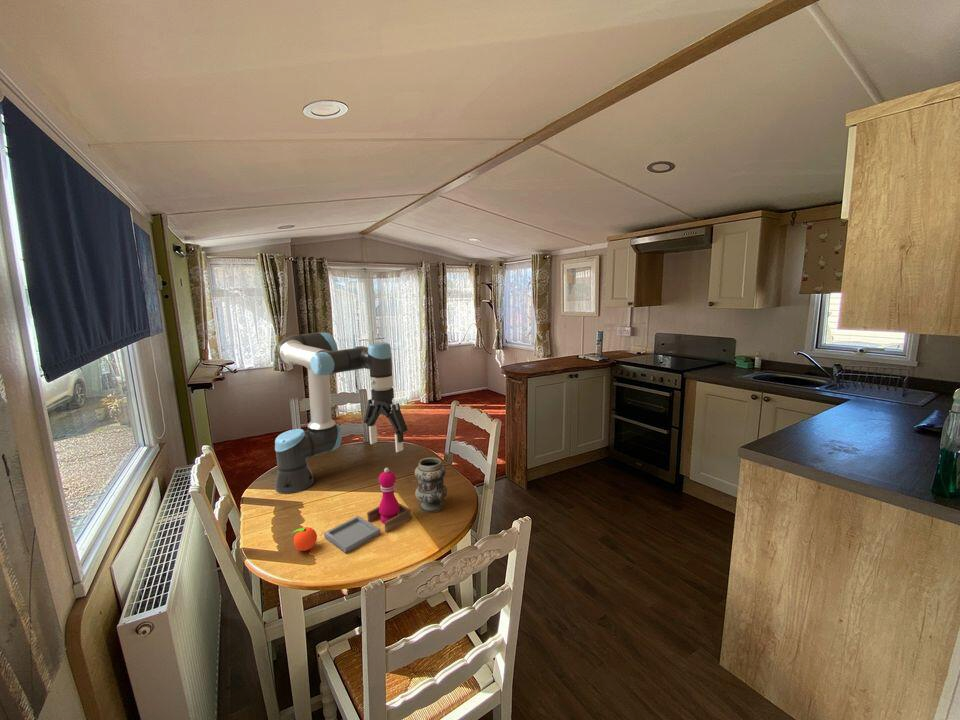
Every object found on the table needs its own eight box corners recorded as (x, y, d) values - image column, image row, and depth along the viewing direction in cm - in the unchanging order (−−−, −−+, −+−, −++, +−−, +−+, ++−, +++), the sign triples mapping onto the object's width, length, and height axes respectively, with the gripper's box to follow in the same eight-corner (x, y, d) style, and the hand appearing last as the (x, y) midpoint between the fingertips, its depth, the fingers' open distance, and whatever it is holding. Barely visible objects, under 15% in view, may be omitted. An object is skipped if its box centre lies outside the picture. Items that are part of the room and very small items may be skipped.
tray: (324, 538, 134) (324, 532, 134) (358, 520, 144) (357, 515, 143) (345, 553, 126) (345, 548, 125) (380, 534, 135) (379, 528, 135)
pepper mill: (401, 523, 141) (397, 470, 138) (380, 527, 139) (376, 473, 136) (399, 512, 148) (396, 462, 145) (379, 516, 146) (375, 465, 143)
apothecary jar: (444, 495, 160) (442, 453, 157) (450, 511, 149) (448, 466, 146) (414, 500, 157) (412, 457, 154) (418, 516, 145) (415, 470, 142)
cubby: (367, 521, 143) (367, 512, 143) (392, 508, 152) (392, 499, 151) (386, 532, 136) (386, 523, 136) (411, 518, 145) (411, 509, 144)
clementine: (287, 555, 125) (285, 535, 124) (297, 542, 132) (295, 522, 131) (312, 555, 125) (310, 534, 124) (321, 541, 132) (319, 522, 131)
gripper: (350, 386, 141) (355, 443, 145) (398, 395, 126) (402, 458, 130) (368, 381, 147) (372, 436, 151) (415, 390, 132) (419, 450, 136)
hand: (386, 446), depth 140 cm, fingers open, 13 cm apart
